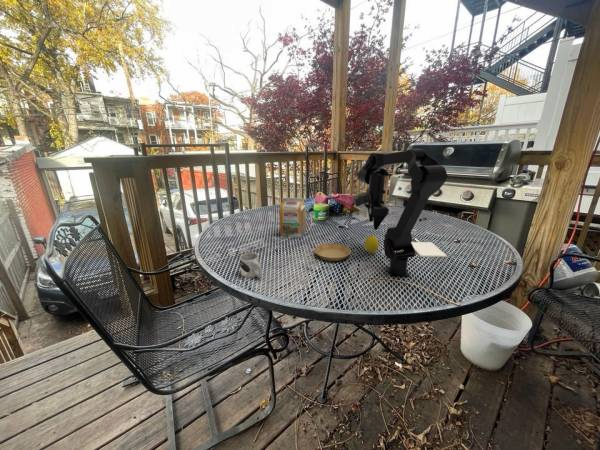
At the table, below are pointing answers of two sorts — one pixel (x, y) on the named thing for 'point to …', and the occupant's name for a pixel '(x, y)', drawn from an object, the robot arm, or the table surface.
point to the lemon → (371, 244)
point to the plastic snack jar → (292, 217)
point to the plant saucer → (332, 251)
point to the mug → (250, 265)
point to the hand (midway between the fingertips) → (373, 225)
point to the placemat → (427, 249)
